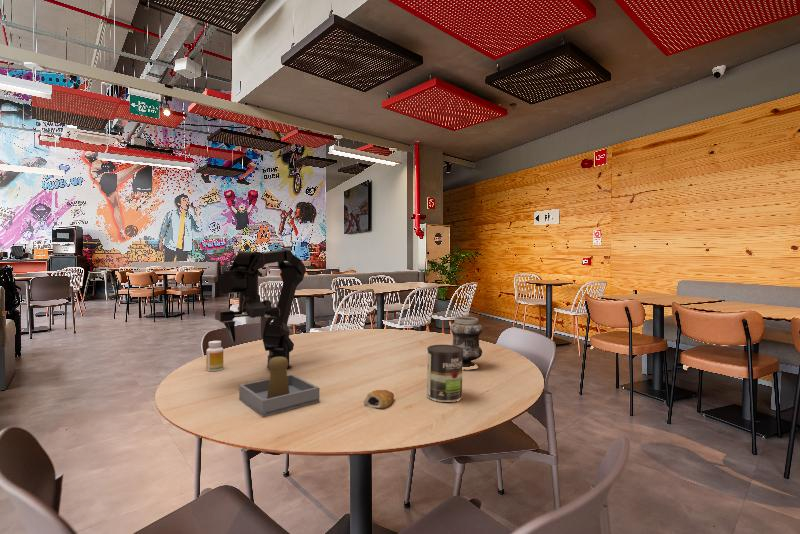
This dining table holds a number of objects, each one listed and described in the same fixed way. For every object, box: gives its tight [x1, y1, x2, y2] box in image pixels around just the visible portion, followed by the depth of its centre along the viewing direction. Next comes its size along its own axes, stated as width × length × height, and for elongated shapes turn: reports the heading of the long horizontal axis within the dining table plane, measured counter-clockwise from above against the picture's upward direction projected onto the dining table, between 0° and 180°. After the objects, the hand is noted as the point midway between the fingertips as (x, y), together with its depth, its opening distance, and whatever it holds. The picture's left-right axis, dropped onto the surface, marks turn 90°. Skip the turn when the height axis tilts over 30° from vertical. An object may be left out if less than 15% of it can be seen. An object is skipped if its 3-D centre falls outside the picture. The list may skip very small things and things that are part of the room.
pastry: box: [363, 389, 395, 410], centre depth 112 cm, size 9×7×4 cm
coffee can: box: [426, 344, 463, 403], centre depth 117 cm, size 10×10×14 cm
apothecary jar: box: [449, 316, 484, 367], centre depth 148 cm, size 12×12×18 cm
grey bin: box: [238, 373, 320, 418], centre depth 112 cm, size 16×16×4 cm
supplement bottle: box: [205, 340, 224, 372], centre depth 141 cm, size 5×5×10 cm
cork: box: [267, 357, 289, 399], centre depth 112 cm, size 6×6×11 cm
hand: (248, 340), depth 128 cm, fingers open, 9 cm apart
